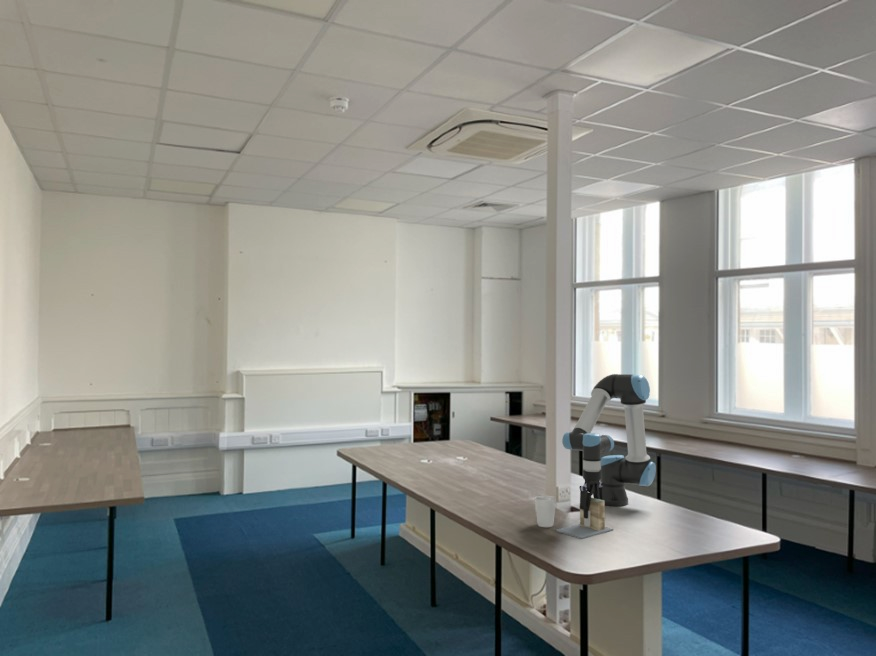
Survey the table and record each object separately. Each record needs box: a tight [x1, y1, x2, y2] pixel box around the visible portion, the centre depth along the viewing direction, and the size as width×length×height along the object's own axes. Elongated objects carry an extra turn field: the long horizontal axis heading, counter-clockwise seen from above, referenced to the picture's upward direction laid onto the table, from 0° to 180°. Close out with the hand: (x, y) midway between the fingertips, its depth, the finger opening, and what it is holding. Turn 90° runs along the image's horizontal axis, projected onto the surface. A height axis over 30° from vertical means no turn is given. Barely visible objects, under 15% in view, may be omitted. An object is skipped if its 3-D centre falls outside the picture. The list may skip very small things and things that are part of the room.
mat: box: [555, 523, 614, 540], centre depth 279 cm, size 20×14×1 cm
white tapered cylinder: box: [534, 494, 557, 528], centre depth 288 cm, size 9×9×12 cm
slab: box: [579, 496, 606, 531], centre depth 283 cm, size 4×10×12 cm, turn 37°
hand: (592, 524), depth 282 cm, fingers open, 6 cm apart
